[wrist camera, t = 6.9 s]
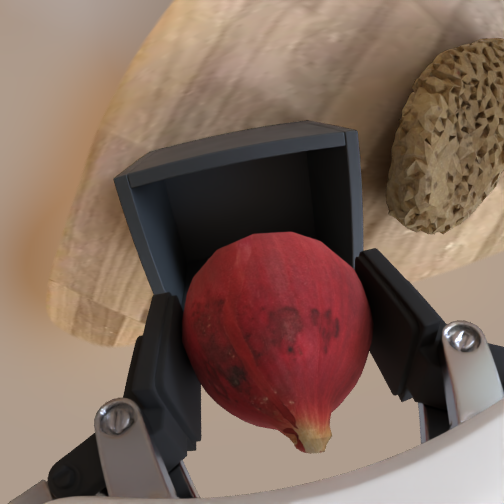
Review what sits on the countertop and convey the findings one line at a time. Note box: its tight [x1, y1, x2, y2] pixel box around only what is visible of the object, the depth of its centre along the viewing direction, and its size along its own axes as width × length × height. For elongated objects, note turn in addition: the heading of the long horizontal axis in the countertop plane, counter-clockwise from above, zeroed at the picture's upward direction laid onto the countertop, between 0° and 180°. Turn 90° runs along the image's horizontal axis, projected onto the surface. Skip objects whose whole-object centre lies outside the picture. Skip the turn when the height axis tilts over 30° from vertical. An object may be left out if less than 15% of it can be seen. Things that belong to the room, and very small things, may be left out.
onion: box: [182, 232, 374, 453], centre depth 9 cm, size 6×6×8 cm
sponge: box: [386, 38, 504, 234], centre depth 18 cm, size 13×8×20 cm
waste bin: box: [114, 120, 363, 312], centre depth 18 cm, size 11×9×8 cm
